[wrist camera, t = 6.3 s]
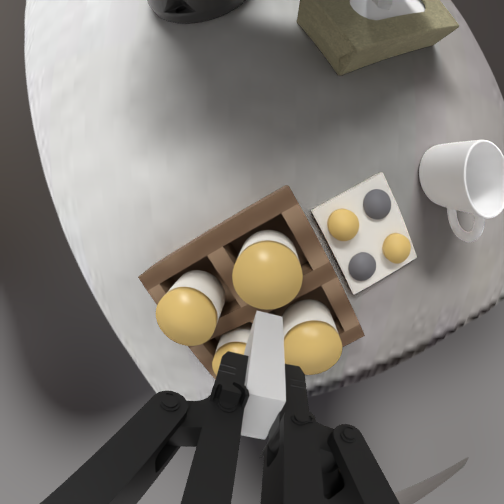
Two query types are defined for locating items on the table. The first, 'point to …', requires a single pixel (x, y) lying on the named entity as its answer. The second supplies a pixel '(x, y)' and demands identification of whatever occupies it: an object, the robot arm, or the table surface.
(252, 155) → the table surface
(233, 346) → the button
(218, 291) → the button
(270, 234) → the button
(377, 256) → the card
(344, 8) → the tissue box
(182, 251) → the board
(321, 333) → the button
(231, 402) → the robot arm
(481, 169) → the mug
